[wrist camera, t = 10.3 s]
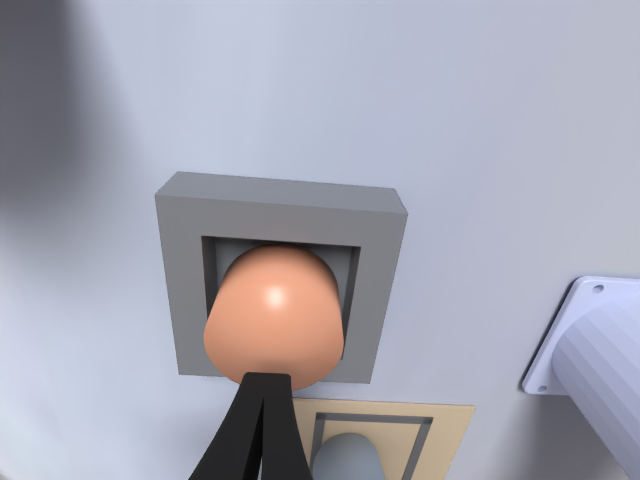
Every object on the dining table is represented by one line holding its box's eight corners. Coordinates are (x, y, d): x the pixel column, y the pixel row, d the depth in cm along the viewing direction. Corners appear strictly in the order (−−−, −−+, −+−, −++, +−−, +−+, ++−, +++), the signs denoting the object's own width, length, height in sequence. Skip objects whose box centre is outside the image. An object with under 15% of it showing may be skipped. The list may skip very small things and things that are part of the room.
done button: (345, 247, 15) (352, 293, 12) (332, 340, 17) (335, 394, 15) (219, 238, 14) (198, 283, 12) (223, 334, 17) (207, 388, 14)
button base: (394, 188, 16) (408, 213, 13) (363, 345, 20) (369, 383, 18) (177, 171, 15) (154, 194, 13) (193, 336, 19) (178, 374, 17)
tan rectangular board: (474, 406, 22) (476, 410, 22) (417, 534, 30) (418, 538, 30) (277, 397, 22) (276, 401, 21) (270, 530, 29) (269, 535, 29)
